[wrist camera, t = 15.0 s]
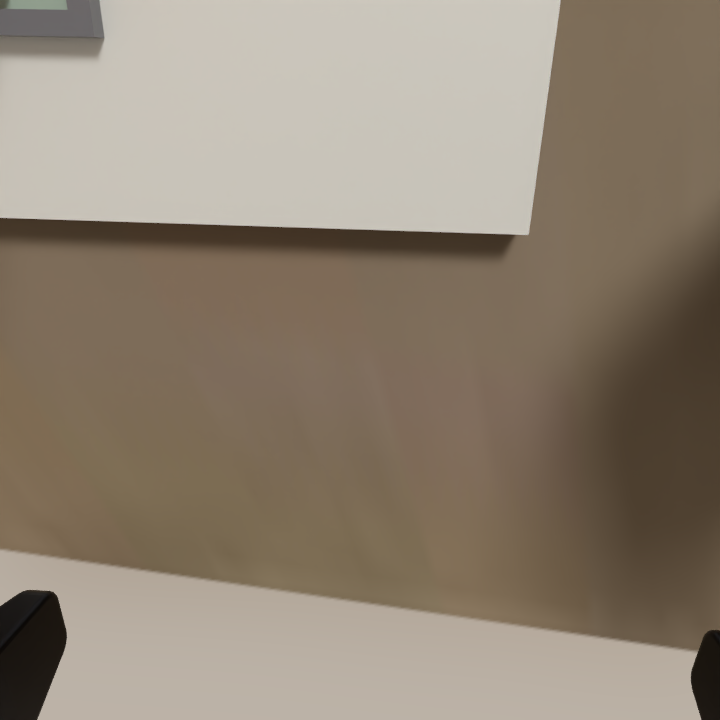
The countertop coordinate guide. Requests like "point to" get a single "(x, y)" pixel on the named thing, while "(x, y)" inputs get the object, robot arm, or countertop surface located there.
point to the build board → (275, 112)
